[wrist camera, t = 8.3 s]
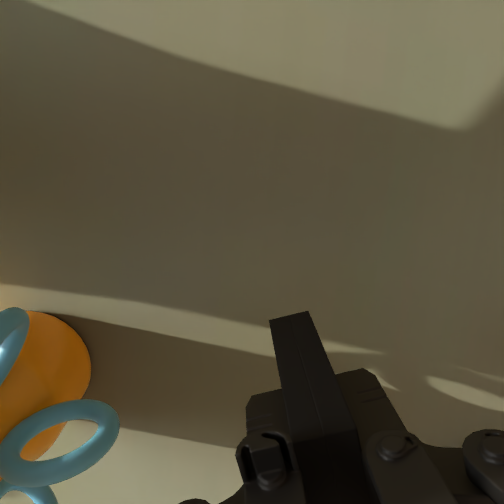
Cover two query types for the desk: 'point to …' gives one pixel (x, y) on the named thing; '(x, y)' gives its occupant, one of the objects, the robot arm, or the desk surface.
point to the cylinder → (45, 403)
